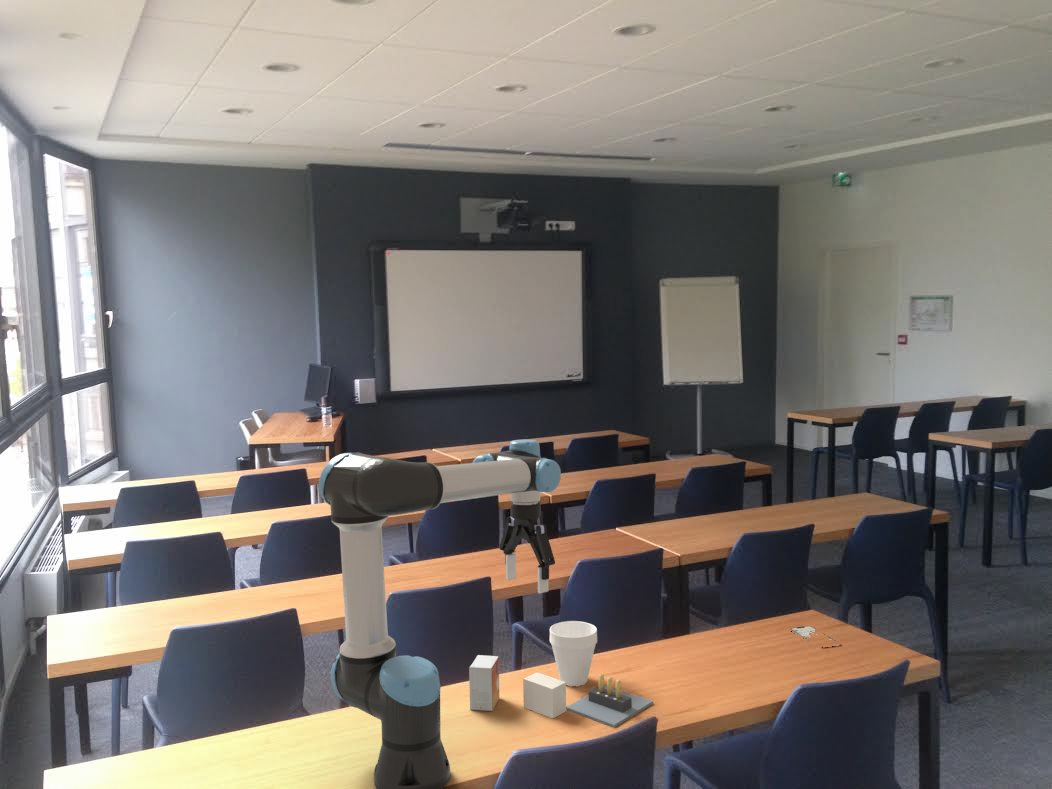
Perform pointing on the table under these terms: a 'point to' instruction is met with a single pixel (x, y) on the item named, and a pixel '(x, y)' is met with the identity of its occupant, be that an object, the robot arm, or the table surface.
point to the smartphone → (805, 631)
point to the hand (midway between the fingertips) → (526, 585)
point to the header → (609, 704)
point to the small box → (484, 682)
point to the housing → (544, 694)
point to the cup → (573, 650)
